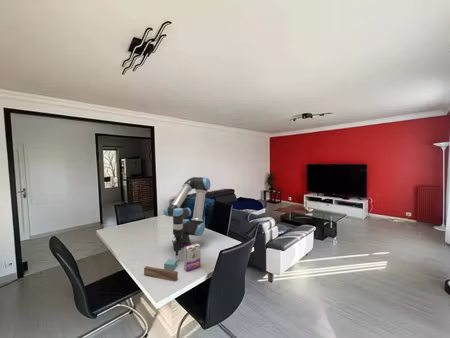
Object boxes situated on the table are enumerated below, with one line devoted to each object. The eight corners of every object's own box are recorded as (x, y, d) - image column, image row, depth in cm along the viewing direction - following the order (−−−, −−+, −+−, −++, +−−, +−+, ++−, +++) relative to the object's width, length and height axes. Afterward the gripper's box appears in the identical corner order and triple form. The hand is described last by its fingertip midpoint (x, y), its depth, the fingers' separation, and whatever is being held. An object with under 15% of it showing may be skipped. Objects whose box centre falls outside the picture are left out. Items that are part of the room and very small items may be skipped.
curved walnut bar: (146, 273, 138) (146, 266, 138) (177, 279, 131) (177, 271, 131) (144, 275, 135) (144, 267, 135) (175, 281, 129) (175, 273, 129)
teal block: (168, 265, 149) (168, 259, 149) (177, 266, 148) (177, 260, 148) (164, 270, 143) (164, 263, 142) (173, 271, 141) (173, 264, 141)
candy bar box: (197, 264, 150) (197, 242, 150) (200, 267, 146) (200, 245, 146) (183, 269, 144) (183, 246, 144) (186, 272, 140) (186, 248, 139)
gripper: (177, 225, 162) (177, 254, 162) (169, 230, 149) (168, 262, 150) (186, 226, 160) (185, 256, 160) (178, 231, 147) (177, 263, 148)
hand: (177, 259), depth 155 cm, fingers closed
